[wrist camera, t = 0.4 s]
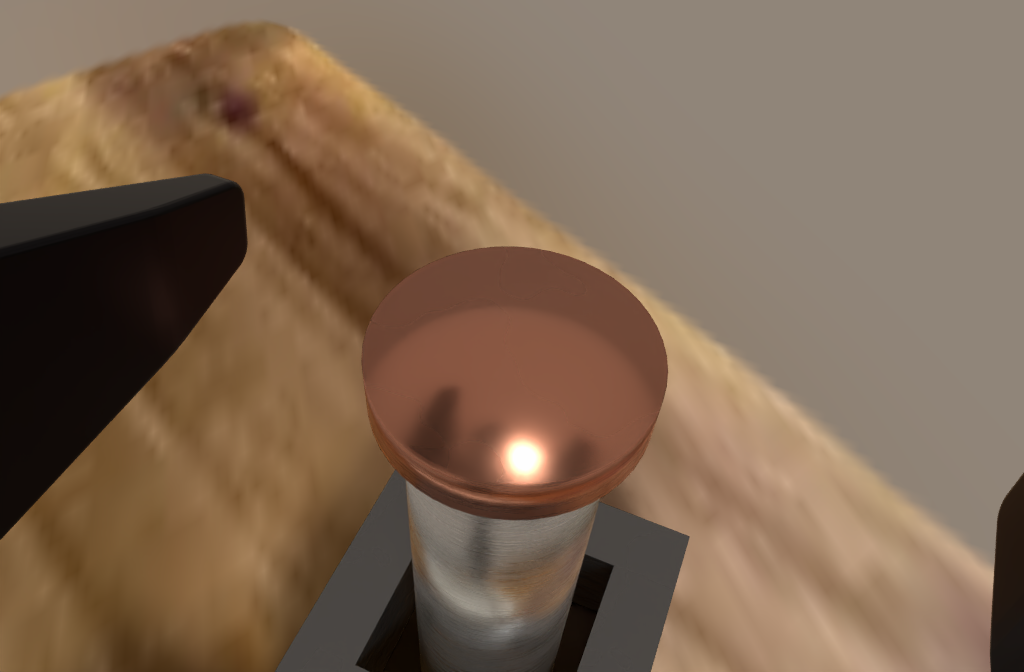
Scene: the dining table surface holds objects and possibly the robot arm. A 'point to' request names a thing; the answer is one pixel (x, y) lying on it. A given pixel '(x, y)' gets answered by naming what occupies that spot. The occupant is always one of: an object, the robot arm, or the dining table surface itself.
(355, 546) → the dark grey square socket
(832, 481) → the dining table surface
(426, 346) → the pin
